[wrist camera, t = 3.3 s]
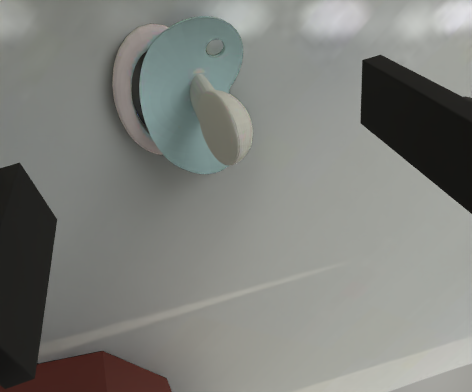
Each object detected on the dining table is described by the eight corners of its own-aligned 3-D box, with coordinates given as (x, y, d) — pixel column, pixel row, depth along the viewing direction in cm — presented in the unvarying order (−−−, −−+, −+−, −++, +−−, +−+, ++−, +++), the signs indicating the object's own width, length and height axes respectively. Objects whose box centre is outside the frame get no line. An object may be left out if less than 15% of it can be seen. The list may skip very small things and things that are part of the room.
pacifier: (128, 161, 20) (237, 145, 22) (134, 240, 16) (273, 213, 17) (95, 12, 16) (234, 2, 17) (88, 57, 11) (282, 39, 12)
